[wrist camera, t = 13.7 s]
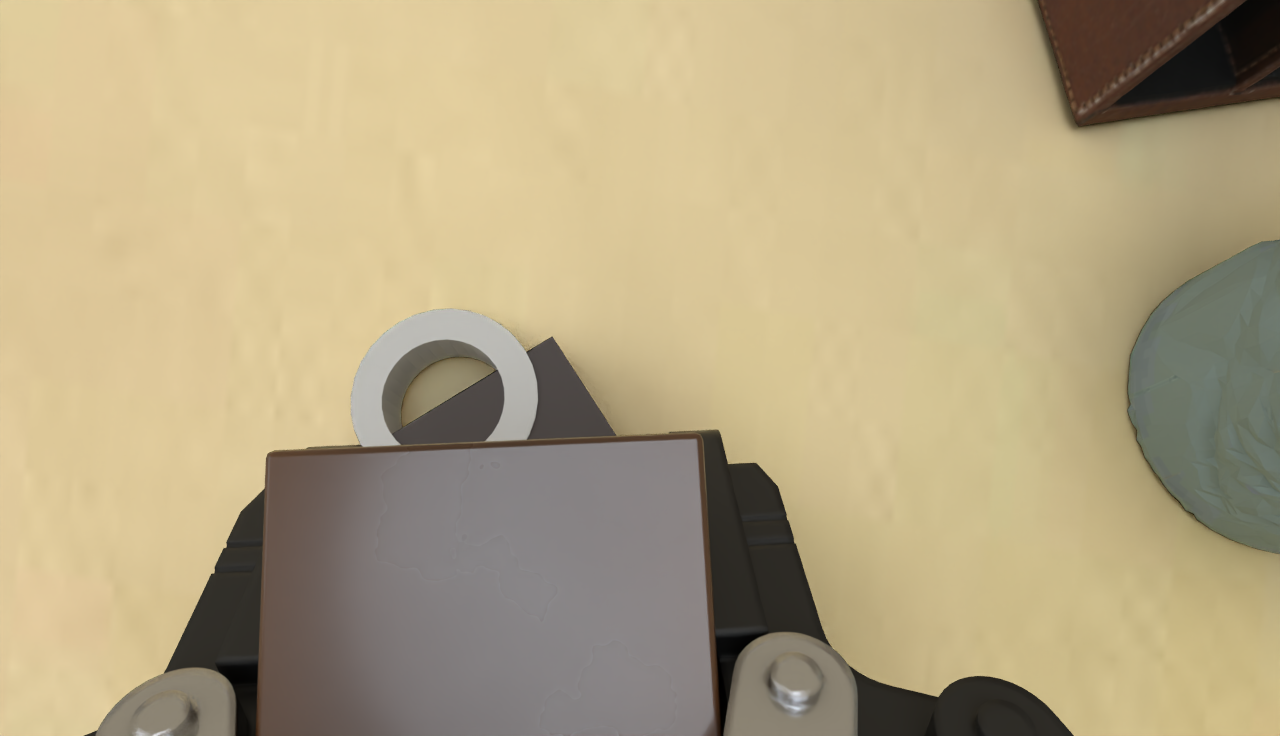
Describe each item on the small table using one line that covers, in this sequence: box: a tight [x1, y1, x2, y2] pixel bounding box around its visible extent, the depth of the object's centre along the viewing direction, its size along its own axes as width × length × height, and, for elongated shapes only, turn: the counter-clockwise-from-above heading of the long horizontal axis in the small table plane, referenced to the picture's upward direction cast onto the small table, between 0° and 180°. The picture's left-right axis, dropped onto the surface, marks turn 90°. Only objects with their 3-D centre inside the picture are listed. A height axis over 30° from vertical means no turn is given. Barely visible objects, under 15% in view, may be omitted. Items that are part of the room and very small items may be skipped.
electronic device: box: [351, 309, 616, 447], centre depth 20 cm, size 7×3×15 cm
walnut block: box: [256, 432, 722, 736], centre depth 12 cm, size 4×4×8 cm
